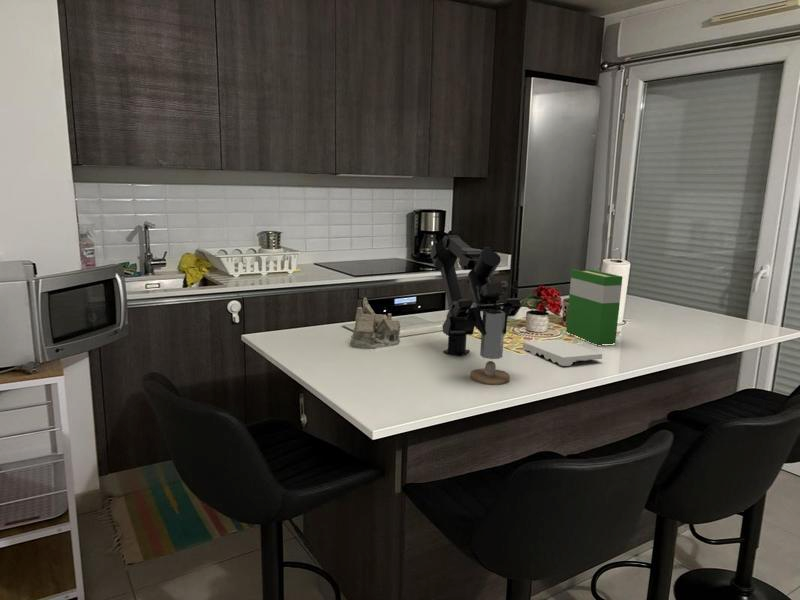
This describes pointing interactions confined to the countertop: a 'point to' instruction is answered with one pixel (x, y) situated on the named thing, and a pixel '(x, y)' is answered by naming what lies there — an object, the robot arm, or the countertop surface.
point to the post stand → (490, 375)
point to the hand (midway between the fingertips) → (494, 334)
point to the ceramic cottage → (374, 329)
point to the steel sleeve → (493, 334)
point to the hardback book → (594, 306)
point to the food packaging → (561, 351)
